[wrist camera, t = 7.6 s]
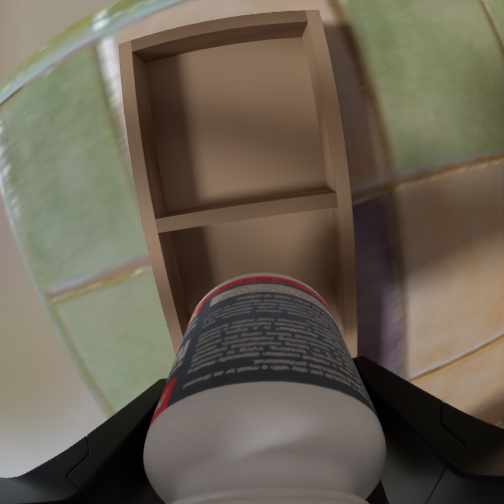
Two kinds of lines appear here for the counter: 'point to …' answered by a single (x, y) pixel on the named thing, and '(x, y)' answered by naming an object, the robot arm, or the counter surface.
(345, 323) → the bay tray
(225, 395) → the pill bottle
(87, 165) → the counter surface
